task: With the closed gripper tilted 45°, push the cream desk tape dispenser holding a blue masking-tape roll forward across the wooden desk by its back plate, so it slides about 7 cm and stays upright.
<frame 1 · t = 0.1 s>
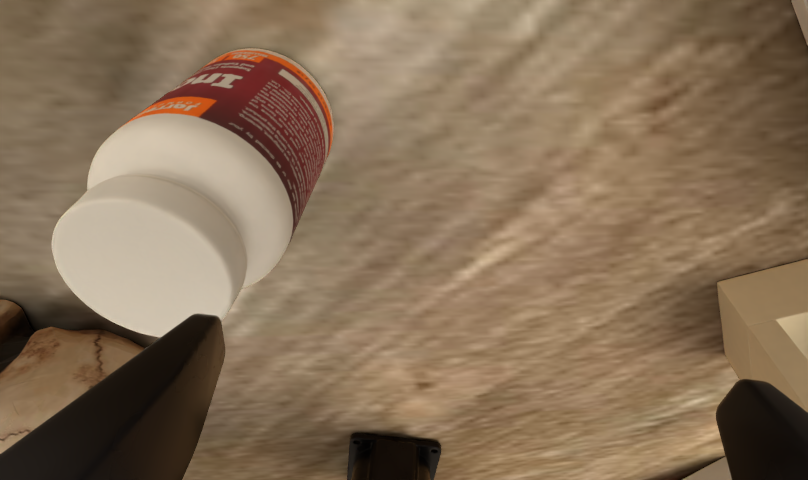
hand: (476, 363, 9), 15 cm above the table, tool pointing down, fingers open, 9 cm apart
pill bottle: (268, 115, 22), on the table
coin bank: (59, 360, 33), on the table
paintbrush: (738, 464, 35), on the table
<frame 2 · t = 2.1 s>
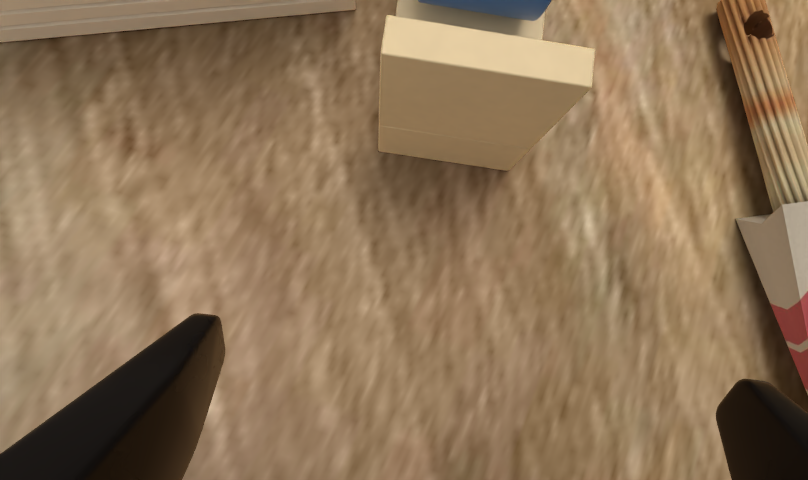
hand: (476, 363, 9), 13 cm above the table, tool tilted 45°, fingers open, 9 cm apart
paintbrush: (768, 208, 23), on the table
tape dispenser: (461, 24, 23), on the table
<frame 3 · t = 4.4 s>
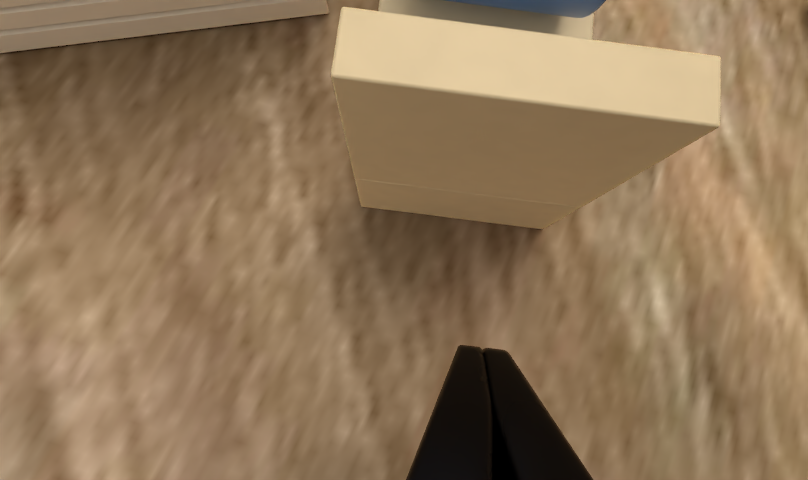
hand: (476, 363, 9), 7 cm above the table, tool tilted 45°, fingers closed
tape dispenser: (472, 29, 17), on the table
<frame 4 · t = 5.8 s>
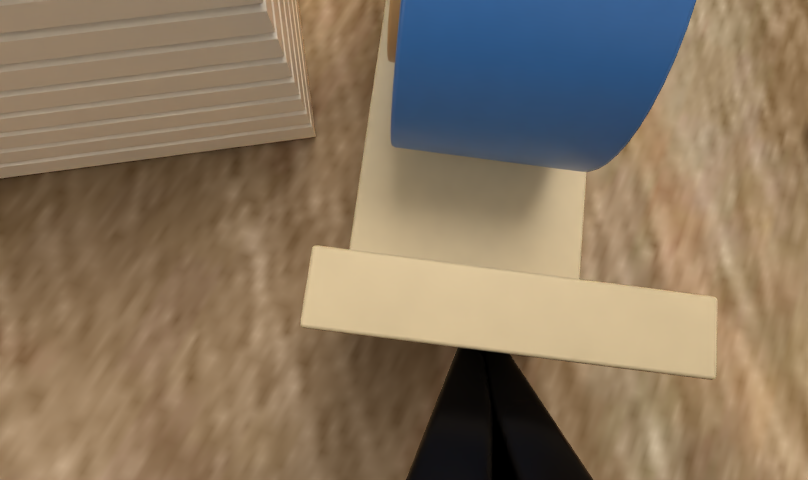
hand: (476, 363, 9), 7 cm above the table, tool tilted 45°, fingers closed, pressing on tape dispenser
tape dispenser: (465, 135, 17), on the table, touching gripper
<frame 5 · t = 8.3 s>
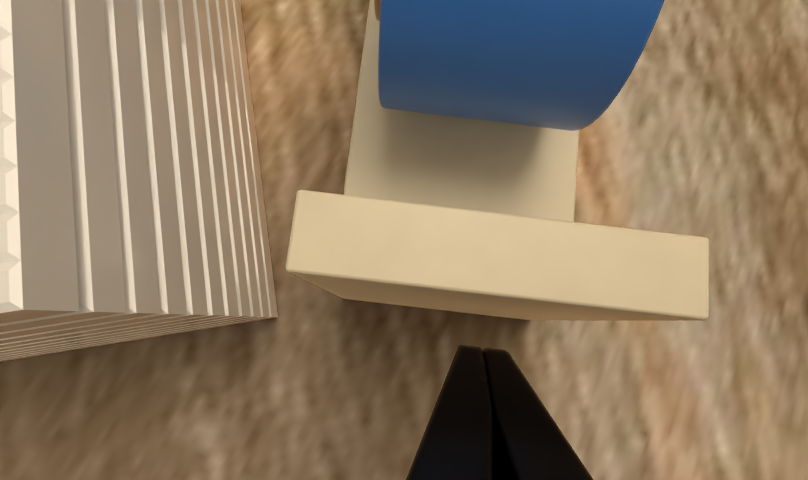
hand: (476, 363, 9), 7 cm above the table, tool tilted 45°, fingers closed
tape dispenser: (457, 107, 16), on the table
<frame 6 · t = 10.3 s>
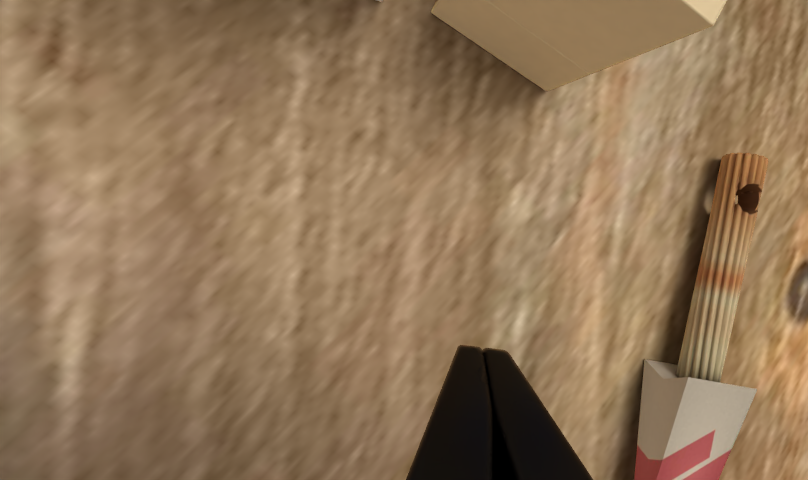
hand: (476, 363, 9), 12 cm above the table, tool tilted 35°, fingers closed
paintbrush: (674, 357, 24), on the table
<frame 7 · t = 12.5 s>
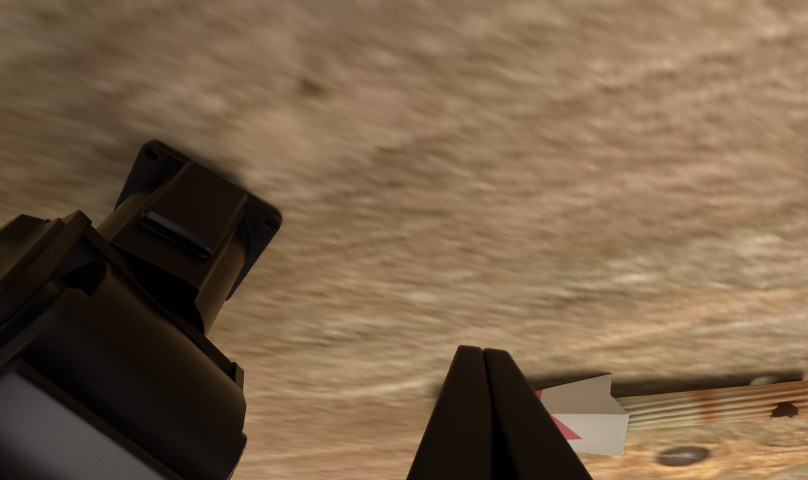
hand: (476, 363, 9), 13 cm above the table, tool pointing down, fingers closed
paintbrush: (614, 391, 29), on the table
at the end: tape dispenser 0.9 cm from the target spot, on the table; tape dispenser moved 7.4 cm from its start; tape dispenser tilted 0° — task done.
